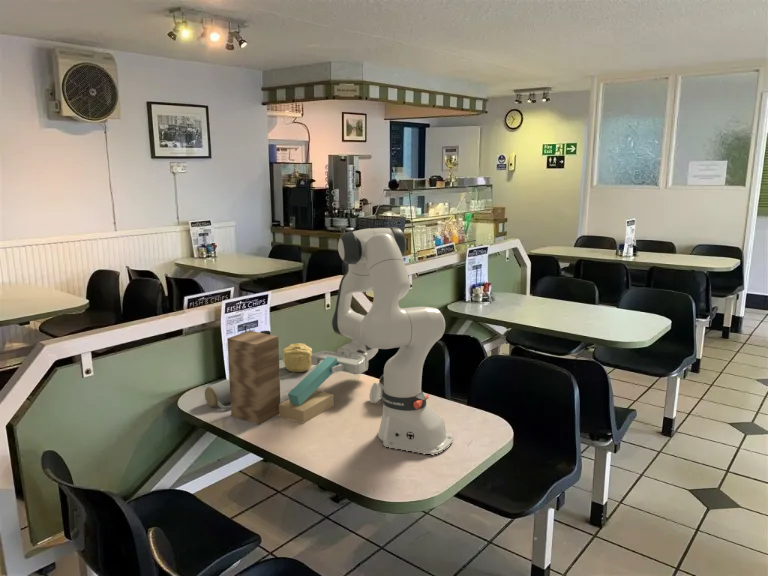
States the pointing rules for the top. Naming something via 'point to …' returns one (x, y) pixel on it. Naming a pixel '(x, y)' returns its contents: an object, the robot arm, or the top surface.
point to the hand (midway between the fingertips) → (324, 368)
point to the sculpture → (297, 357)
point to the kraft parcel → (307, 407)
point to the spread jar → (377, 390)
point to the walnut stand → (254, 376)
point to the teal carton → (312, 381)
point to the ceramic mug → (219, 394)
